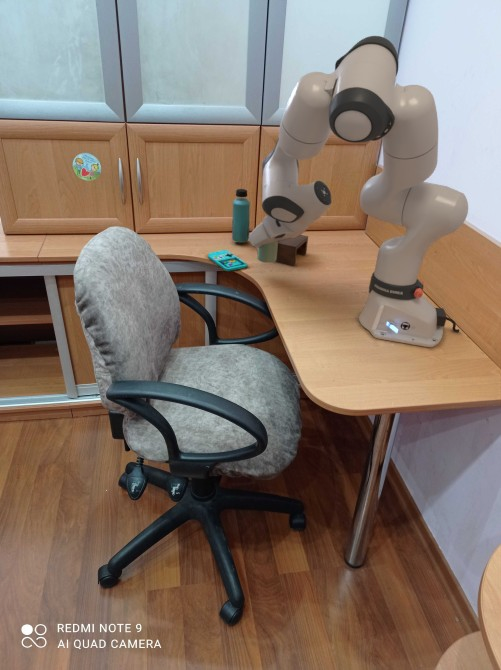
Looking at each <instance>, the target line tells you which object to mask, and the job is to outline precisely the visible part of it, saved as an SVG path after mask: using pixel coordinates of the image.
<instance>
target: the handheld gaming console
mask: <svg viewBox="0 0 501 670" xmlns="http://www.w3.org/2000/svg"><path fill="white" fill-rule="evenodd" d="M207 258H208V259H209V260H211V261H212V262H213V263H214V264H216V265H217V266H219V267H220V268H221V269H223V270H224V271H226V272H233V271H235V270H240V269H245V268H247V267H248V263H246V262H245V261H244V260H242V259H241V258H240V257H238V256H236V255H235V254H233V253H232V252H230V251H229V250H227V249H224V250H223V249H222V250H218V251H211V252H210V253H208V254H207Z"/></svg>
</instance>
